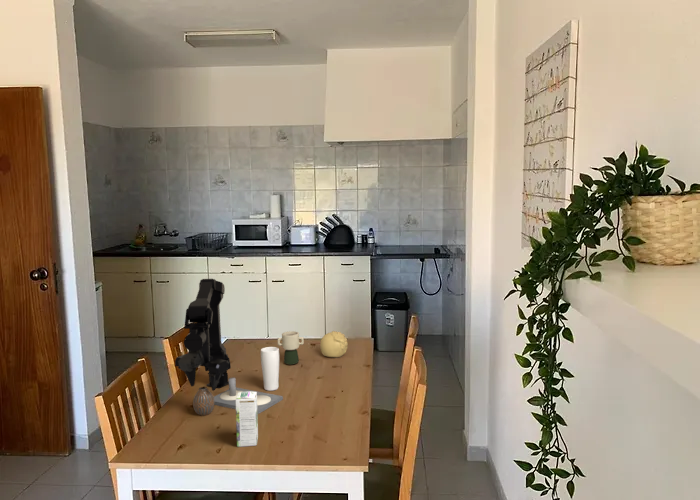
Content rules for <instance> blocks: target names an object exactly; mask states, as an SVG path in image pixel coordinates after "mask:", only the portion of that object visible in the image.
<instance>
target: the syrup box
mask: <svg viewBox="0 0 700 500" xmlns="http://www.w3.org/2000/svg"><path fill="white" fill-rule="evenodd" d="M258 415H259V414H257V392H250V391H247V392H238V395H237V398H236V409H235V423H236V424H235V426H236V428H235V429H236V447H238V448H241V447H253V446H256V447H257V445H258V440H259V439H258V438H259V425H258V424H259V422H258V421H259V419H258Z"/></svg>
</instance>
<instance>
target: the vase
mask: <svg viewBox="0 0 700 500" xmlns="http://www.w3.org/2000/svg"><path fill="white" fill-rule="evenodd" d="M192 406H193V410H194V412H195V413H196V414H197V415H199V416H208V415H209V414H211V413H212V412H213V410H214V408H215V405H214V394H213V393H212V392H211V391H210V390H209V389H208V386H201V387H199V388H198V390H197V392H196V393H195V395H194V397H193V400H192Z"/></svg>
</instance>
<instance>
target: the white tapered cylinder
mask: <svg viewBox="0 0 700 500" xmlns="http://www.w3.org/2000/svg"><path fill="white" fill-rule="evenodd" d="M260 363H261V372H262V379H263V388H264V390H266V391H268V392H269V391H273V392H274V391H277V390H278V389H279V381H280V380H279V375H280V349H279V347H276V346H267V347H262V348H261V349H260Z"/></svg>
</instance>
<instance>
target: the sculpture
mask: <svg viewBox="0 0 700 500" xmlns="http://www.w3.org/2000/svg"><path fill="white" fill-rule="evenodd" d="M319 344H320V345H319V346H320V348H319V349H320V352H321V353H322V355H323V356H325V357H328V358H340V357H341V358H342V356H344V355H345V354H346V352H347V350H348V345H349V344H348V339H347V337H346V335H345V334H344V333H342V332H341V331H334V330H332V331H330V332H327V333H326V334H324V335H323V336H322V337H321V340H320V343H319Z"/></svg>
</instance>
